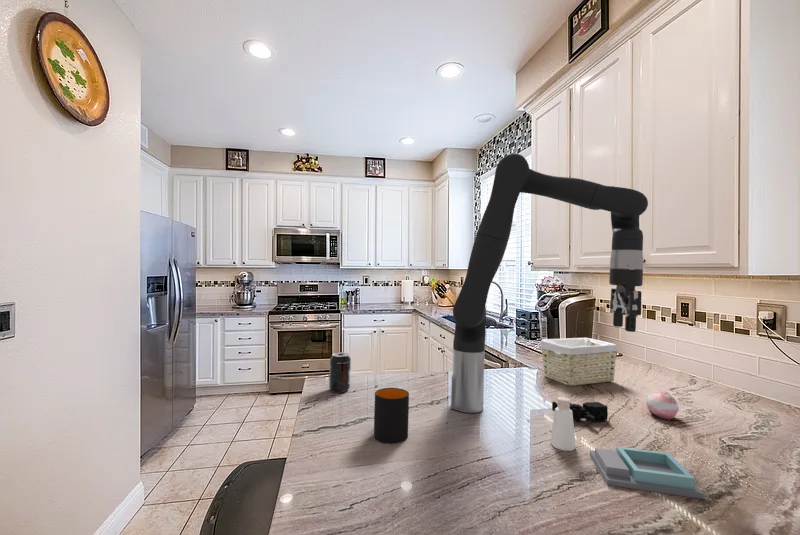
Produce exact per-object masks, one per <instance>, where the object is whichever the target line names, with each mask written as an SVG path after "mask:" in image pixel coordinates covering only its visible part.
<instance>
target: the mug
mask: <svg viewBox="0 0 800 535" xmlns="http://www.w3.org/2000/svg"><path fill="white" fill-rule="evenodd" d="M409 407H410V392H408V391H407V390H405V389H402V388H398V387H384V388H383V387H382V388H380V389H378V390H376V391H375V392H374V411H373V412H374V416H373V417H374V418H373V421H374V422H373V437H374V439H375V440H376V441H378V442H379V443H383V444H389V445H391V444H392V445H393V444H400V443H403V442H405V441H406V440H407V439H408V437H409V409H410V408H409Z"/></svg>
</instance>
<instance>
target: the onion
mask: <svg viewBox="0 0 800 535" xmlns="http://www.w3.org/2000/svg"><path fill="white" fill-rule="evenodd" d="M645 401H646V406H647V407H646V408H647V409H648V412H646V414H647V415H648V416H651V417H652V418H655V419H659V418H660V419H661V420H662V419H664V420H673V419H674V418H675V417H676V416H677V414H678V412H679V404H678V401H677V400H676V398H675V397H673V396H672V395H671V394H670V393H668V392H667V391H664V392H663V391H661V392H660V391H658V392H654V393H651V394H650V395H649V396H648V397H646V400H645Z"/></svg>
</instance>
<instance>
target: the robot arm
mask: <svg viewBox="0 0 800 535" xmlns="http://www.w3.org/2000/svg"><path fill="white" fill-rule="evenodd" d="M521 193H523V194H531V195H536V196H540V197H546V198H550V199H553V200H557V201H561V202H563V203H567V204H571V205H574V206H578V207H581V208H585V209H588V210H593V211H600V210H602V211H607V212H610V222H611V223H610V224H611V231H612V237H611V238H612V239H611V252H610V260H609V278H608V279H609V280H608V281H609V285H611V286H616V288H611V289H610V303H609V308H610V310H611V311H612V313H613V315H612V326H614V327H617V328H618V327H619V328H621V327H622V328H623V326H624V330H625V331H626V332H630V333H631V332H632V333H633V332H636V331H637V330H636V328H637V327H636V326H637V318H638V317H639V316H641V315H642V291H641V290H636V287H642V286H643V285H644V284H643V279H644V276H643V275H644V254H643V253H644V251H643V250H644V233H643V230H642V229H640V216H641V215H643V214H644V213H645V211H646V210H647V209H648V205H649V200H648V197H647V196H646V195H645V194H644V193H642V192H641V191H638V190H636V189H632V188H627V187H622V186H621V187H620V186H615V185H614V186H613V185H612V186H611V185H604V184H602V183H597V182H595V181H591V180H587V179H584V178H583V179H582V178H578V177H577V178H576V177H571V176H569V177H568V176H557V175H552V174H551V175H550V174H545V173H542V172H539V171H537V170H533V169H532V168H530V165H529V162H528V161H527V159H526V158H525V157H524V156H523V155H522V154H519V153H509V154H507V155H505V156H504V157H502V158H501V159H500V160H499V161H498V163H497V165H496V168H495V172H494V179H493V183H492V188H491V193H490V196H489V200H488V203H487V205H486V208H485V211H484V213H483V216H482V218H481V221H480V224H479V226H478V229H477V232H476V235H475V237H474V241H473V243H472V244H473V246H472V249H471V253H470V257H469V261H468V265H467V271H466V275H465V278H464V281H463V285H462V286H461V289H460V292H459V294H458V296H457V298H456V301H455V303H454V305H453V307H452V316H453V319H454V321H455V323H454V324H455V325H454V326H455V327H454V335H453V341H452V342H453V343H452V344H453V345H452V346H453V347H452V375H451V388H450V389H451V391H450V392H451V394H450V395H451V396H450V409H452V410H456V411H457V412H458V411H459V412H462V413H466V414H467V413H470V414H473V413H479V412H482V411H483V410H484V404H485V403H484V402H485V401H484V399H485V398H484V395H485V394H484V392H485V391H484V390H485V388H484V387H485V386H484V385H485V348H486V336H487V335H486V334H487V333H486V331H487V308H486V304H487V299H488V297H489V296H488V295H489V291H490V287H491V285H492V282H493V280H494V278H495V276H496V274H497V272H498V270H499V268H500V265H501V263H502V260H503V258H504V255H505V252H506V249H507V247H508V242H509V240H510V235H511V231H512V225H513V222H514V221H513V219H514V212H515V209H516V208H515V207H516V205H517V200H518V199H519V196H520V194H521ZM624 314H625V317H624ZM624 318H625V319H624ZM624 320H625V322H624ZM624 323H625V324H624ZM623 324H624V325H623Z"/></svg>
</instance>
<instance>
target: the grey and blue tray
mask: <svg viewBox="0 0 800 535" xmlns="http://www.w3.org/2000/svg"><path fill="white" fill-rule="evenodd" d="M615 449H616V450H613V449H605V448H598V447H594V450H589V456H590V458H591V459H592V461H593V463H594V465H595V467H596V468H597V470H598V472H599V473H600V476H601V477H602V479H603V481H604V482H605V484H606V485H607V486H611V487H612V486H613V487H620V488H626V489H633V490H639V491H645V492H646V491H647V492H653V493H661V494H667V495H673V496H674V495H675V496H681V497H688V498H693V499H694V498H695V499H699V500H700V499H701V500H705V492H703V490H701V489H700V488H699V487H698V485H696V478H695V477H694V475H692V474H691V473H690V472H689V471H688V470H687V469H686V468H685V467H683V465H682V464H681V463H679V462H678V460H677V459H675V457H674V456H673V455H671V454H670V452H665V451H657V450H647V449H640V448H633V447H632V448H631V447H624V446H615Z"/></svg>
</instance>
